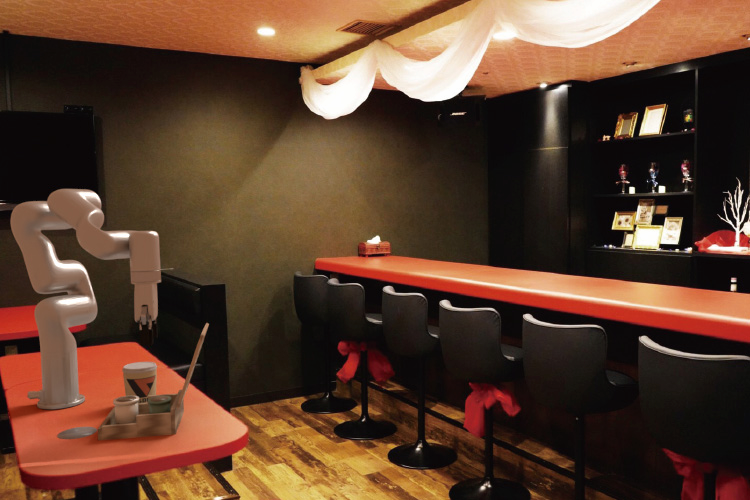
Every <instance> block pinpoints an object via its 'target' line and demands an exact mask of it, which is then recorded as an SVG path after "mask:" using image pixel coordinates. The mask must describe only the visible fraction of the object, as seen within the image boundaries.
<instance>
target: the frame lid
mask: <svg viewBox="0 0 750 500" xmlns="http://www.w3.org/2000/svg"><path fill="white" fill-rule="evenodd" d="M209 325H210V323H208V322H206V323H205V325H204V327H203V329H202V332H201V334H200V336H199V339H198V342H197V344H196V348H195V350H194V354H193V357H192V359H191V360H192V361H191V363H190V366H189V369H188V372H187V375H186V377H185V380H184V382H183V386H182V389H181V390H182V392H181V395H180V398H179V401H178V404H177V407H176V409H179V408H180V406H181V403H182V401H183V400H184V399H185V396H186V392H187V391H188V388H189V385H190V382H191V379H192V376H193V373H194V370H195V366H196V364H197V361H198V358H199V355H200V353H201V349H202V346H203V343H204V341H205V337H206V334H207V331H208V328H209Z"/></svg>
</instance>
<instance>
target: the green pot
mask: <svg viewBox="0 0 750 500" xmlns="http://www.w3.org/2000/svg"><path fill="white" fill-rule="evenodd" d="M170 401H171V397H169V396H157V397H153V398H150V399H148V404H149V413H150V414H155V413H169V412H171V409H170Z"/></svg>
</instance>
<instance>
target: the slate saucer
mask: <svg viewBox="0 0 750 500" xmlns="http://www.w3.org/2000/svg"><path fill="white" fill-rule="evenodd" d="M96 432H98V428H96V427H94V426H79V427H71V428H68V429H64V430H62V431H60V432H59V433H57V436H56V437H57V438H58V439H60V440H76V439H83V438H86V437H90V436H92V435H94V434H95V433H96Z"/></svg>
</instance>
